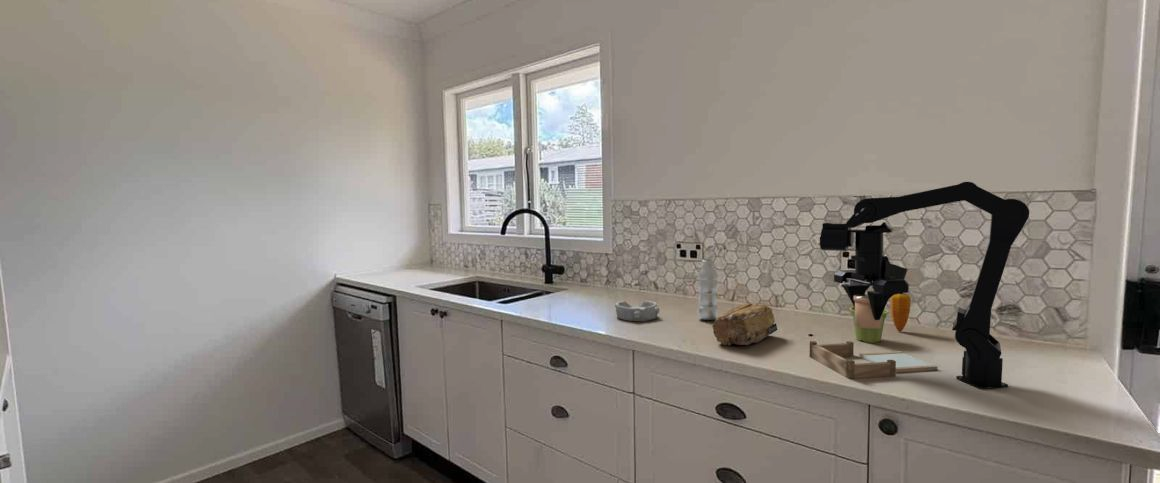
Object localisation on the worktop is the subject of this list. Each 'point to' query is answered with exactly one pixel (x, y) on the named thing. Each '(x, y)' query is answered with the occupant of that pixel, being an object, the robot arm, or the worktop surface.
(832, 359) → the frame
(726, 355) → the worktop surface
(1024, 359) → the worktop surface
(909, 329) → the worktop surface
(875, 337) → the plant pot
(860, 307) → the terracotta pot
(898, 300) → the carrot
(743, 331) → the petrified wood
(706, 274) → the plastic bottle
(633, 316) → the dish
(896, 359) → the lid pane
